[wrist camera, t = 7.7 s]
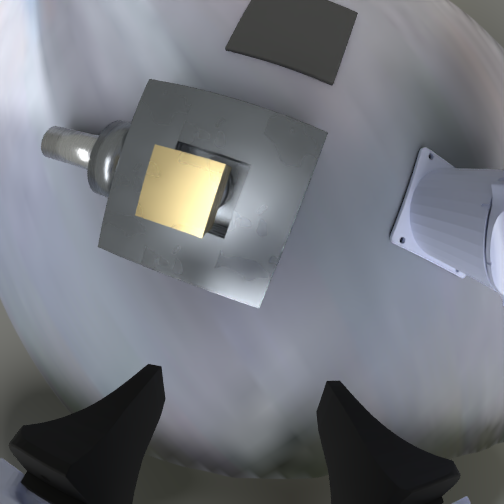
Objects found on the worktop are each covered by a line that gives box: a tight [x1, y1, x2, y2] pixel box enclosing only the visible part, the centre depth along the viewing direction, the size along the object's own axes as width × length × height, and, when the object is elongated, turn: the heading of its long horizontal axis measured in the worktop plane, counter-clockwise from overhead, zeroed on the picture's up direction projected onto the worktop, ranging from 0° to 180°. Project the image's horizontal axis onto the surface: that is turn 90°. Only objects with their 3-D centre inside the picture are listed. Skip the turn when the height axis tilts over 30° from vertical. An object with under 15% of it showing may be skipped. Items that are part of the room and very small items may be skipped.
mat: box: [225, 0, 358, 85], centre depth 15 cm, size 8×8×1 cm
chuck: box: [41, 79, 328, 308], centre depth 16 cm, size 18×10×5 cm, turn 70°
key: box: [135, 144, 234, 238], centre depth 13 cm, size 3×3×7 cm
